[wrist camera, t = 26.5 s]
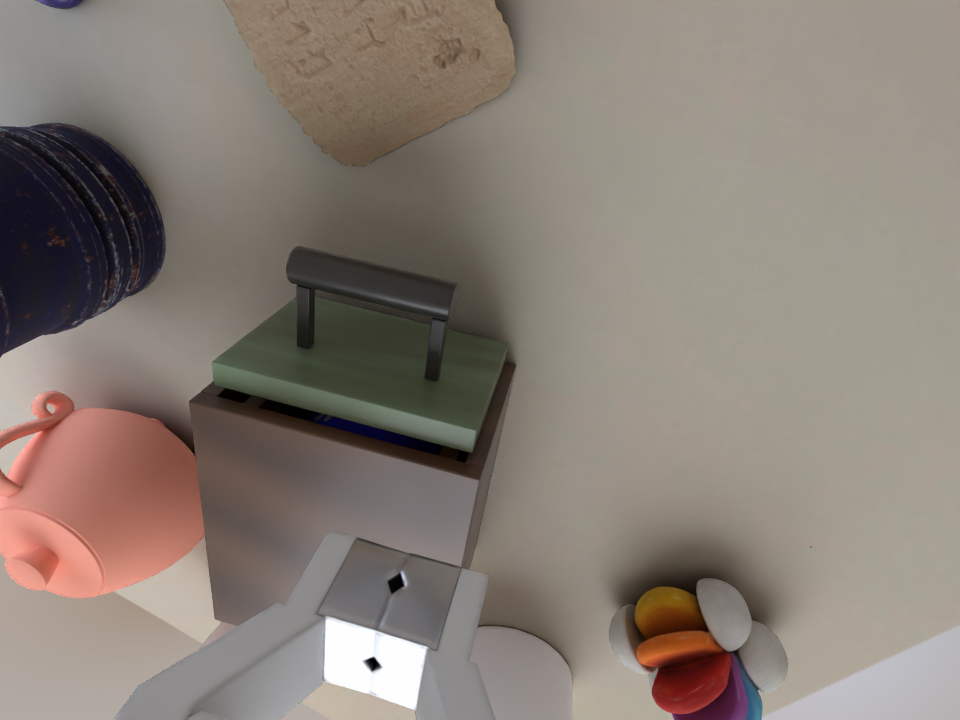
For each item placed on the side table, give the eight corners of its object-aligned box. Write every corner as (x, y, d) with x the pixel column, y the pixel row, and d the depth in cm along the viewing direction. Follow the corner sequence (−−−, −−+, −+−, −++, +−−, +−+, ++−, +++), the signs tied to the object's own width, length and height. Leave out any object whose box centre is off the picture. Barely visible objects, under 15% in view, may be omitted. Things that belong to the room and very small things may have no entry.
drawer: (301, 207, 28) (201, 256, 21) (526, 258, 27) (497, 327, 20) (300, 481, 37) (231, 576, 30) (469, 528, 36) (435, 638, 29)
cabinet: (298, 310, 32) (188, 401, 24) (516, 364, 31) (480, 479, 22) (298, 500, 39) (214, 619, 31) (474, 549, 38) (435, 688, 30)
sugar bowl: (141, 537, 45) (26, 655, 36) (23, 390, 40) (-146, 486, 31) (261, 515, 41) (164, 643, 32) (147, 347, 35) (-7, 444, 27)
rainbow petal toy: (711, 547, 34) (733, 659, 27) (794, 645, 36) (832, 770, 30) (593, 593, 38) (589, 701, 31) (675, 679, 40) (687, 796, 34)
